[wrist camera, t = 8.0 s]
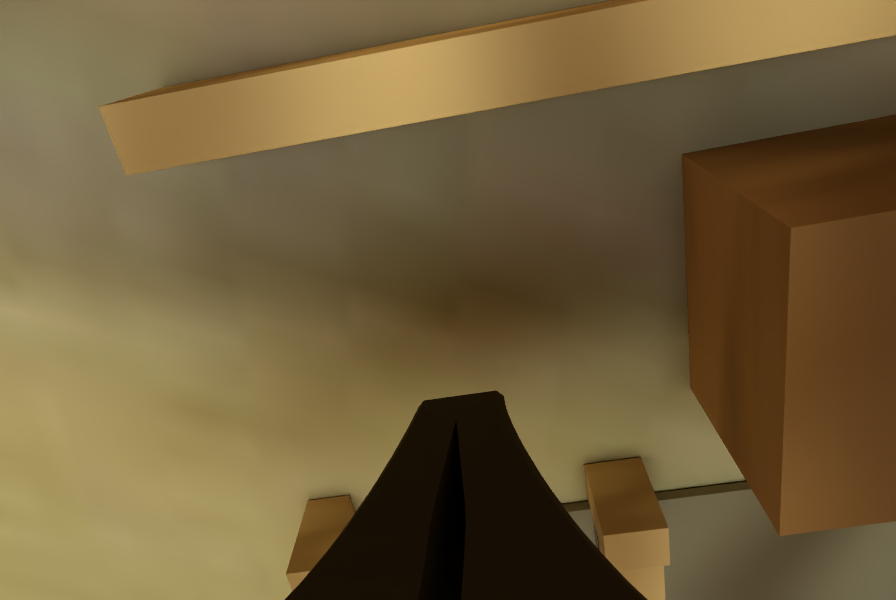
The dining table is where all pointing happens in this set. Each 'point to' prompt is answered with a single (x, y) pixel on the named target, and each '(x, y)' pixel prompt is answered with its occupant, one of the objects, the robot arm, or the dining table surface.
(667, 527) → the trap lane
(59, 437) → the dining table surface
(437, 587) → the robot arm
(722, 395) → the walnut block
